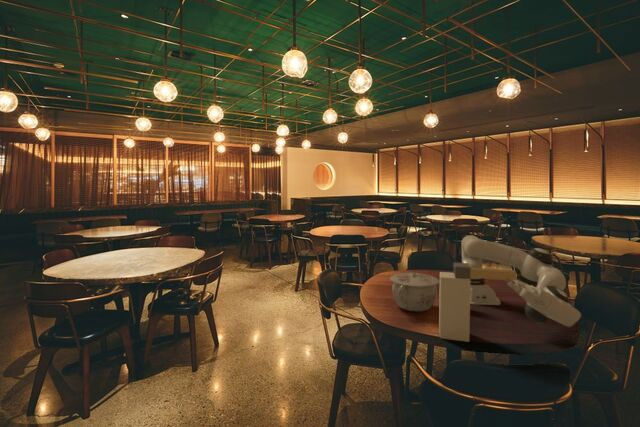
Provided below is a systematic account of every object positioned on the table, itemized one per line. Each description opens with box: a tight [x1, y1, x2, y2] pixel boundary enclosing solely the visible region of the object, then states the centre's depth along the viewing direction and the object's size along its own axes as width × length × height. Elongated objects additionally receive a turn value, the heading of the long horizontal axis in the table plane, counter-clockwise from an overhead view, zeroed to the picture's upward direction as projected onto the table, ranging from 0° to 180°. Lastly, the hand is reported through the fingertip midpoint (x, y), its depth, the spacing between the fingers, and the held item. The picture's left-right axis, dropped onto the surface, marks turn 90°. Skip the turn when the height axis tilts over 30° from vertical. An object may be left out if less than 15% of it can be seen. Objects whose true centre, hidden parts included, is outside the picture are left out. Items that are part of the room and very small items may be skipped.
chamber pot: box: [389, 271, 440, 313], centre depth 175 cm, size 28×28×21 cm
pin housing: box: [438, 262, 471, 343], centre depth 140 cm, size 12×10×33 cm
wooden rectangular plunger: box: [470, 267, 517, 281], centre depth 135 cm, size 21×4×4 cm, turn 71°
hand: (505, 280), depth 133 cm, fingers open, 8 cm apart
